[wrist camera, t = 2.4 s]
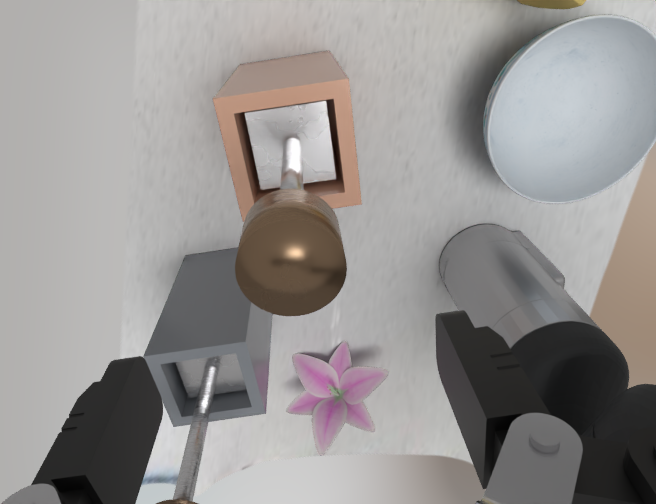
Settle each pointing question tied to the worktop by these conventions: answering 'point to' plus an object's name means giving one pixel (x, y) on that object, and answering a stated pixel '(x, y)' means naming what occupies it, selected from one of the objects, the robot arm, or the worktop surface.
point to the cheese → (553, 3)
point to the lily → (334, 394)
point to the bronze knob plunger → (291, 214)
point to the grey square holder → (210, 337)
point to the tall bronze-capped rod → (202, 412)
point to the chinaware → (574, 109)
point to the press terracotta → (282, 90)
